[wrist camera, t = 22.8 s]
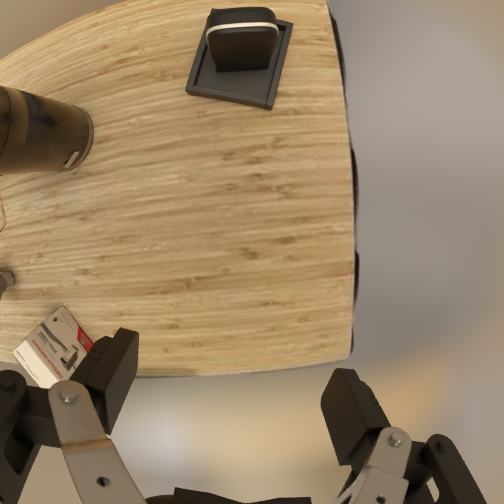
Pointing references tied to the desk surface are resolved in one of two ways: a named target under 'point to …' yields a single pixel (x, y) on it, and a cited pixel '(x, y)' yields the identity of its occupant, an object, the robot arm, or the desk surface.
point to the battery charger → (241, 38)
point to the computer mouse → (1, 217)
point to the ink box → (53, 349)
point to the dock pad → (239, 75)
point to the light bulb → (5, 281)
